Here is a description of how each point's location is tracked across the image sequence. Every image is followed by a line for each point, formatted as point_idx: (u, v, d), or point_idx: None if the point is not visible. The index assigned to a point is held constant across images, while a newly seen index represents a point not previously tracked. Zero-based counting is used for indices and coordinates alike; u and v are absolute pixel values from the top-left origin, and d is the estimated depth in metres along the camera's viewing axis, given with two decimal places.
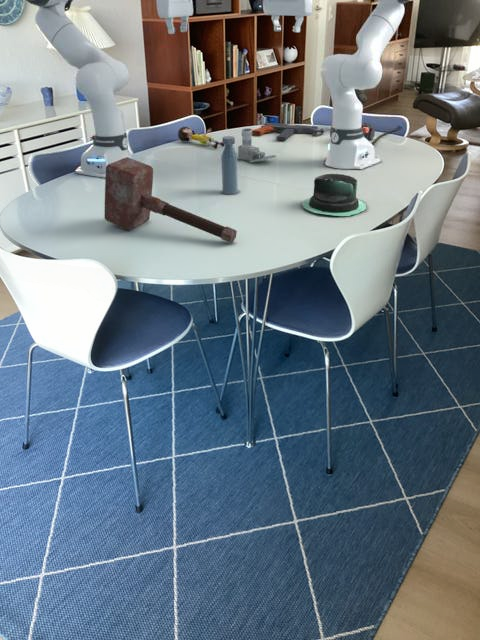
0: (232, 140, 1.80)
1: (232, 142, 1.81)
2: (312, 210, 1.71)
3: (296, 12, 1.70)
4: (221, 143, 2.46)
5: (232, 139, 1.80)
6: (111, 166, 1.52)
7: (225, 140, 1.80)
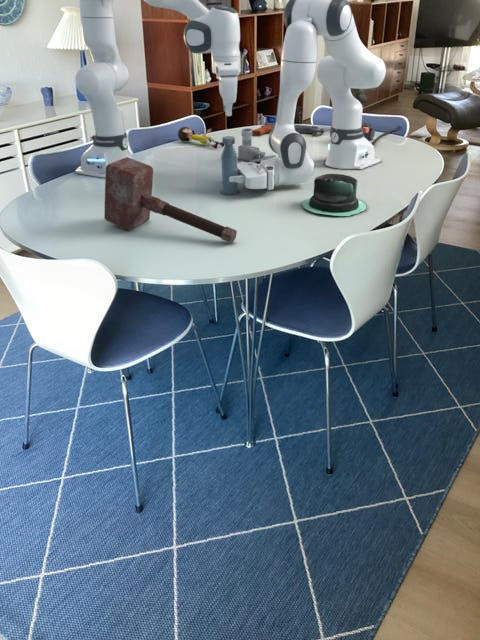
0: (232, 140, 1.80)
1: (232, 142, 1.81)
2: (312, 210, 1.71)
3: None
4: (221, 143, 2.46)
5: (232, 139, 1.80)
6: (111, 166, 1.52)
7: (225, 140, 1.80)
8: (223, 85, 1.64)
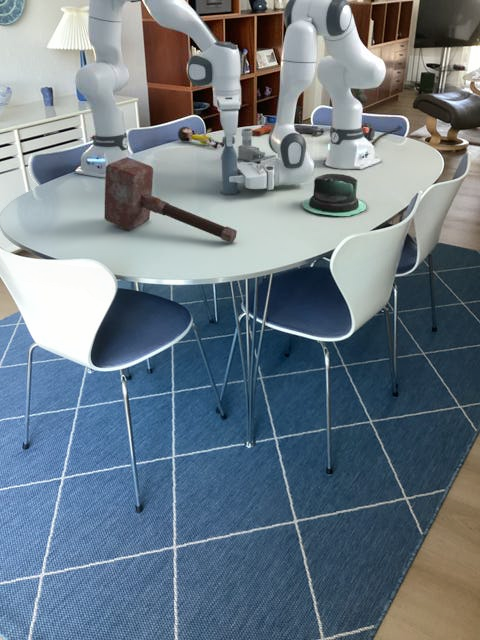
0: (232, 140, 1.80)
1: (232, 142, 1.81)
2: (312, 210, 1.71)
3: None
4: (221, 143, 2.46)
5: (232, 139, 1.80)
6: (111, 166, 1.52)
7: (225, 140, 1.80)
8: (224, 119, 1.69)
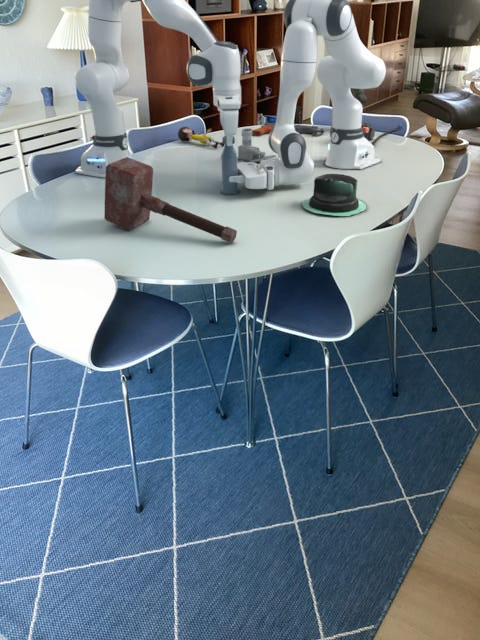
0: None
1: None
2: (312, 210, 1.71)
3: None
4: (221, 143, 2.46)
5: None
6: (111, 166, 1.52)
7: (232, 139, 1.80)
8: (224, 118, 1.69)
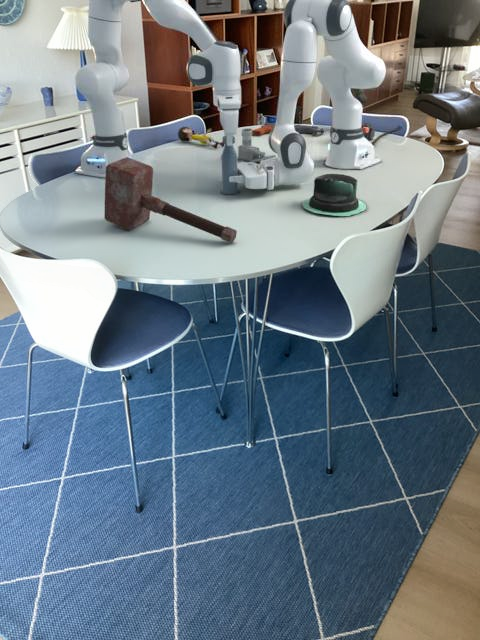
0: None
1: None
2: (312, 210, 1.71)
3: None
4: (221, 143, 2.46)
5: None
6: (111, 166, 1.52)
7: None
8: (225, 118, 1.69)
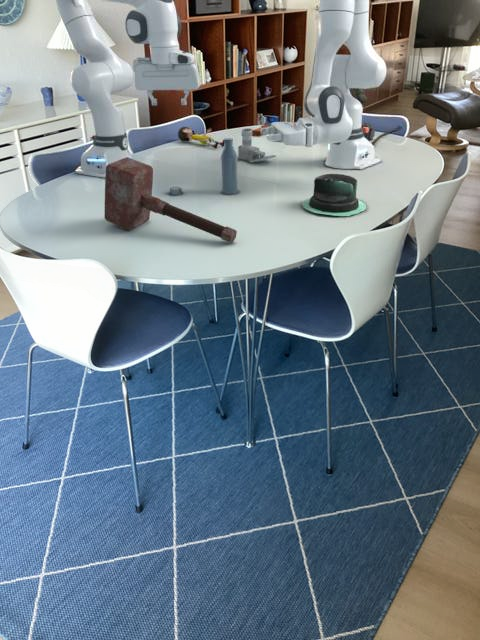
0: None
1: None
2: (312, 210, 1.71)
3: None
4: (221, 143, 2.46)
5: None
6: (111, 166, 1.52)
7: (180, 189, 1.89)
8: (196, 72, 1.69)
